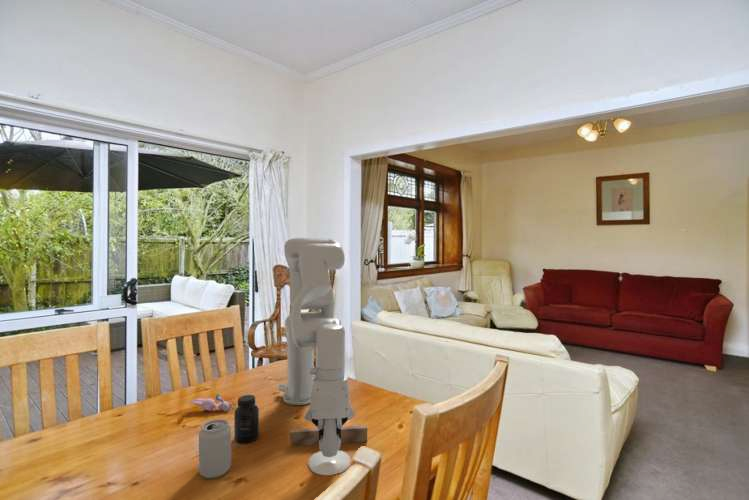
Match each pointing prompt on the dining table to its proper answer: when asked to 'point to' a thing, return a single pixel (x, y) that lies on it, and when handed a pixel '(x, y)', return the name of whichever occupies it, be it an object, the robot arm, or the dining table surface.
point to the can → (214, 448)
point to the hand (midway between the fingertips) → (329, 440)
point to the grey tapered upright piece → (329, 438)
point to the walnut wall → (312, 435)
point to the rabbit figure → (213, 404)
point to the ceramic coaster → (329, 463)
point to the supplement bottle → (246, 420)
